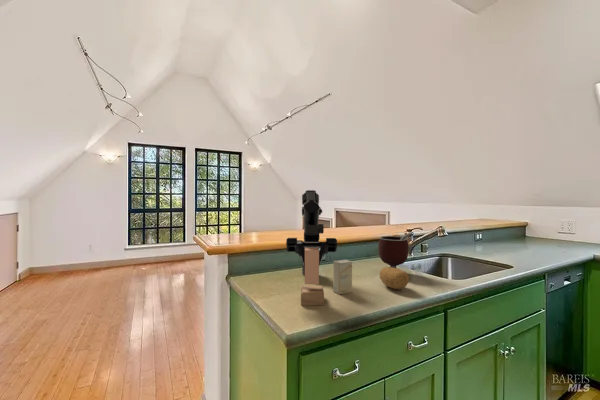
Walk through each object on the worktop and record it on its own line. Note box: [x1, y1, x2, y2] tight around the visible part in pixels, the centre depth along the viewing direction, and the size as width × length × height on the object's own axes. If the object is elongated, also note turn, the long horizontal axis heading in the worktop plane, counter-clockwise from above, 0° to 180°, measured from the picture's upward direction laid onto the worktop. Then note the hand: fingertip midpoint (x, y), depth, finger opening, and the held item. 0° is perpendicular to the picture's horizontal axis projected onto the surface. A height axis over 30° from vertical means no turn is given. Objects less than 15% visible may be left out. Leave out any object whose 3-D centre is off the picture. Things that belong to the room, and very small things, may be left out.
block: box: [304, 247, 320, 285], centre depth 102 cm, size 5×5×12 cm
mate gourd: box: [378, 232, 413, 272], centre depth 138 cm, size 16×14×20 cm
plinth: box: [300, 285, 325, 306], centre depth 102 cm, size 8×8×4 cm
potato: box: [379, 266, 410, 290], centre depth 116 cm, size 10×14×8 cm
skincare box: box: [332, 259, 353, 295], centre depth 112 cm, size 6×4×12 cm
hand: (311, 264), depth 101 cm, fingers closed on block, 5 cm apart
